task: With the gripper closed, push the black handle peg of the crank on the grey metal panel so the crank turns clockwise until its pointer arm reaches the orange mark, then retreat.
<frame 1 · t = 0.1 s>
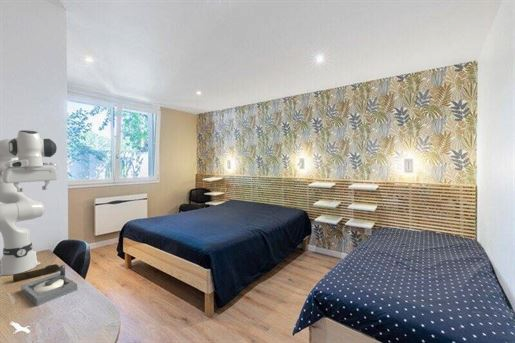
hand: (32, 190, 123), 48 cm above the table, fingers open, 8 cm apart
crank: (52, 279, 120), point 5 cm above the table, hinge at 30.0°
panel: (49, 290, 119), on the table
hand tool: (37, 276, 134), on the table
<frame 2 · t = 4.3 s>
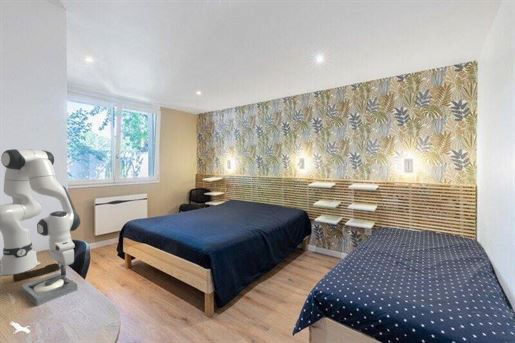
hand: (62, 269, 128), 6 cm above the table, fingers closed
crank: (52, 279, 120), point 5 cm above the table, hinge at 27.4°, touching gripper
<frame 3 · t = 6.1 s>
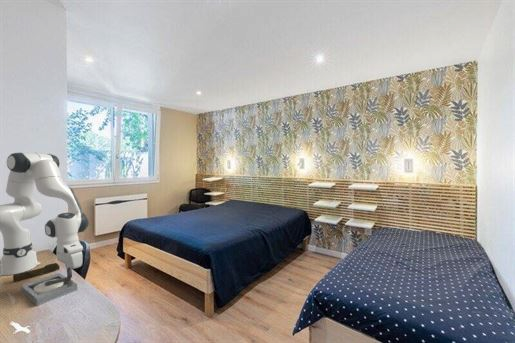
hand: (69, 272, 125), 6 cm above the table, fingers closed, pressing on crank
crank: (53, 279, 119), point 5 cm above the table, hinge at -20.9°, touching gripper
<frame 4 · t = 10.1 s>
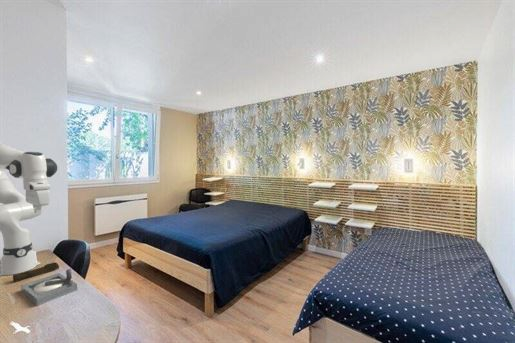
hand: (37, 213, 121), 37 cm above the table, fingers closed
crank: (53, 280, 119), point 5 cm above the table, hinge at -34.0°
at the end: crank at -34° (first picture: +30°) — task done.
